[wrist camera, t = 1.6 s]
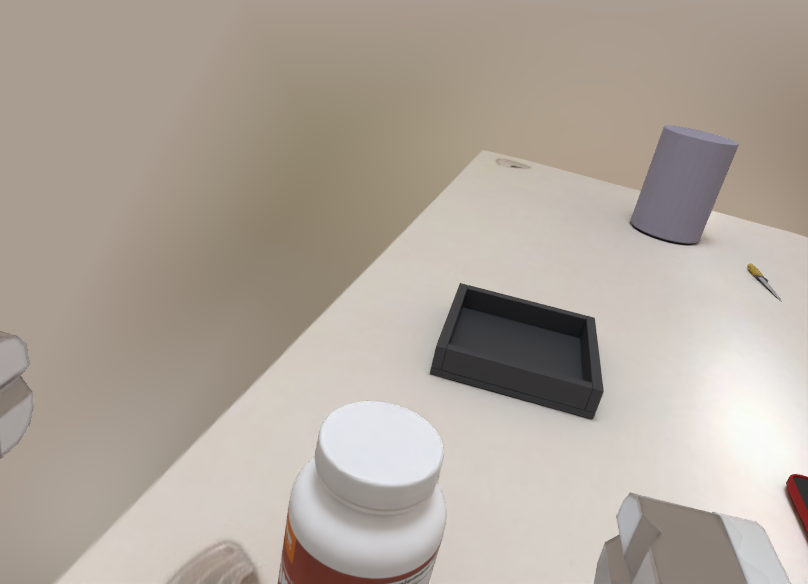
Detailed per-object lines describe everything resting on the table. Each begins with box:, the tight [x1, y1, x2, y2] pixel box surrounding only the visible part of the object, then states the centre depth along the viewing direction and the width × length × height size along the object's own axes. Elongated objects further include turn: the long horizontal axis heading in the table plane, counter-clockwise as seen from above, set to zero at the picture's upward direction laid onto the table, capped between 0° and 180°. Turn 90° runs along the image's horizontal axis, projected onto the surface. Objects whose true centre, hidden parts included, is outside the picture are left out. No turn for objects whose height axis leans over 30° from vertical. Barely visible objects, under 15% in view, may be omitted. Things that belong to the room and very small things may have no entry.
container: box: [631, 126, 739, 244], centre depth 93 cm, size 10×10×15 cm
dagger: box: [747, 264, 782, 302], centre depth 82 cm, size 11×1×2 cm
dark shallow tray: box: [430, 283, 604, 419], centre depth 52 cm, size 13×13×3 cm
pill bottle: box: [278, 401, 446, 584], centre depth 25 cm, size 6×6×11 cm
